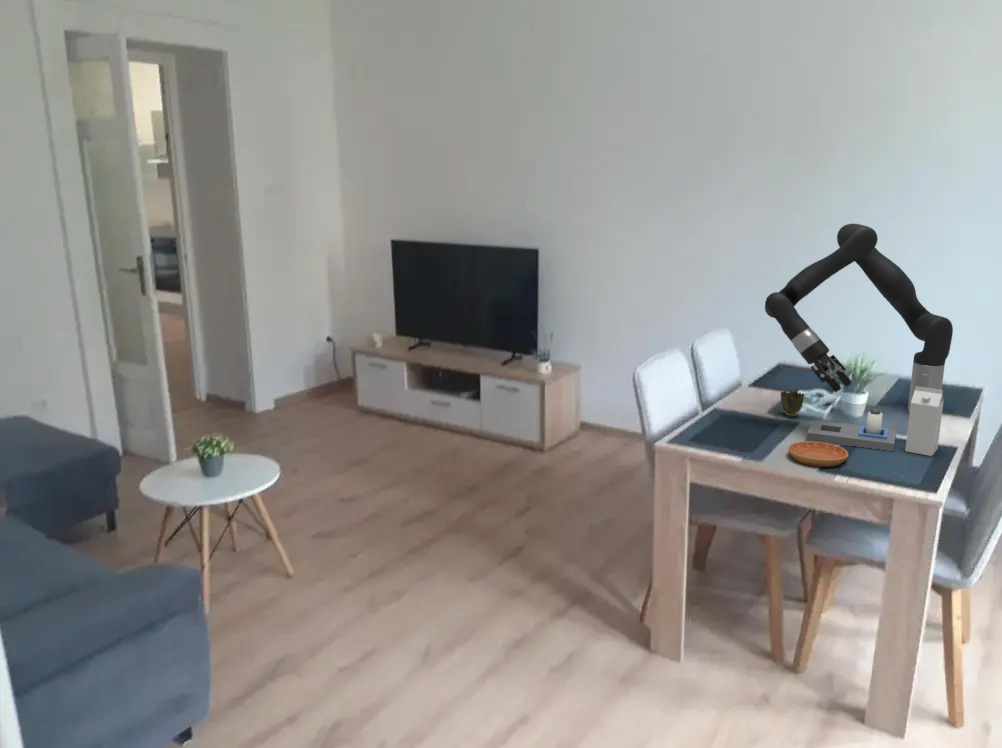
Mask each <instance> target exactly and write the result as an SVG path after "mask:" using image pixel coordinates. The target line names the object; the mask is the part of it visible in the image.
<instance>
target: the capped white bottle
mask: <svg viewBox="0 0 1002 748" xmlns="http://www.w3.org/2000/svg"><path fill="white" fill-rule="evenodd" d="M883 414H884V413H882V412H881V409H878V408H871V409H870V411H868V412H867V418H866V426H867V427H866V433H868V434H876V435H880V434H881V428H882V422H883Z"/></svg>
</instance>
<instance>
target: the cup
mask: <svg viewBox="0 0 1002 748" xmlns="http://www.w3.org/2000/svg"><path fill="white" fill-rule="evenodd" d="M804 398H805V393H803V392H801V391H800V392H798V391H797V390H795V391H793V390H792V389H791V390H790V391H789V392H787V391H786V390H784V391H781V392H780V405H781V408H782V410H783V412H784V415H785V416H786V417H787V416H789V417H788V418H795V417H797V415H798V414H797V413H799V412H800V411H801V409H802V407H803V403H804Z"/></svg>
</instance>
